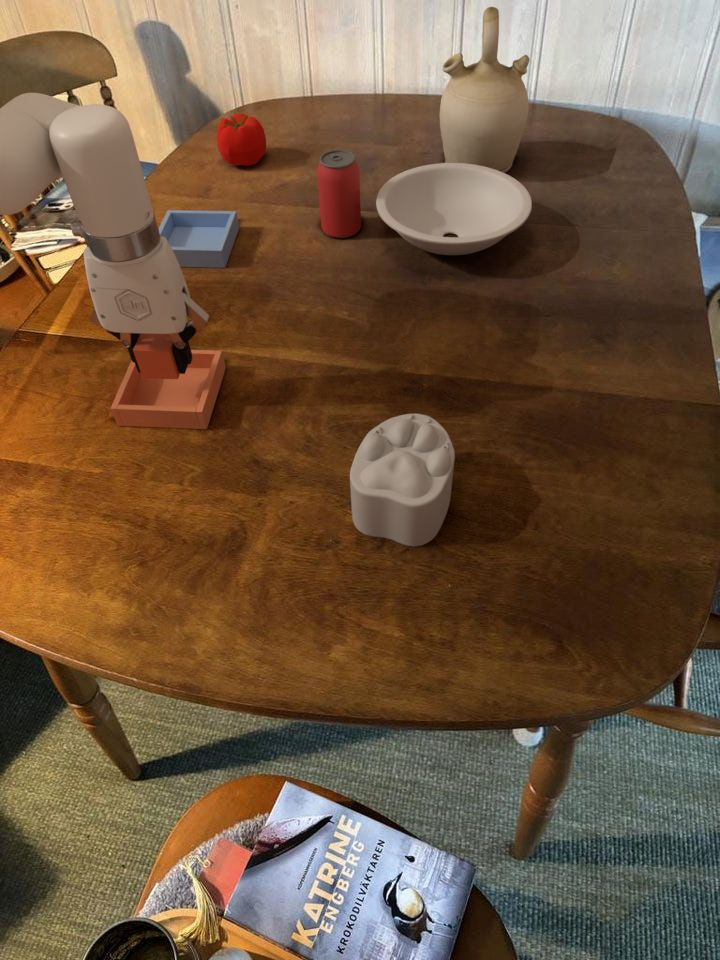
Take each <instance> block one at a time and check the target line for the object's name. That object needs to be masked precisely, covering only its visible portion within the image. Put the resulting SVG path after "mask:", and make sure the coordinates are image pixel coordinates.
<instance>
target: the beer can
mask: <svg viewBox="0 0 720 960" xmlns="http://www.w3.org/2000/svg"><path fill="white" fill-rule="evenodd" d="M356 158H357V157H356V155H355V154H354V153H353V152H351V151H349V150H346V149H331V150H328V151H326V152H324V153H322V154H321V155H320V157H319V163H318V166H317V174H316V176H317V189H318V202H319V213H320V215H319V216H320V226H321V230H322V232H323V233H324V234H325V235H326V236H329V237H331V238H335V239H346V238H350V237H352V236H355V235H356V234H358V233H359V231H360V230H361V228H362V213H361V212H362V211H361V210H362V209H361V208H362V207H361V180H360V177H361V176H360V167H359V165H358V163H357V160H356Z"/></svg>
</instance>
